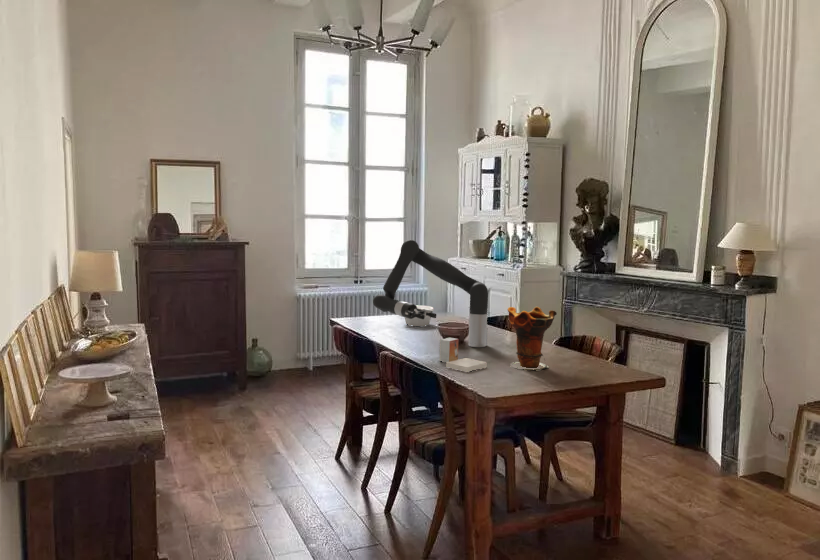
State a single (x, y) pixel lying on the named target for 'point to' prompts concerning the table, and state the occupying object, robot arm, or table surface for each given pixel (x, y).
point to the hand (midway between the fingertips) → (430, 316)
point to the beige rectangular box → (466, 364)
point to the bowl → (417, 320)
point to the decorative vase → (530, 335)
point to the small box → (448, 349)
